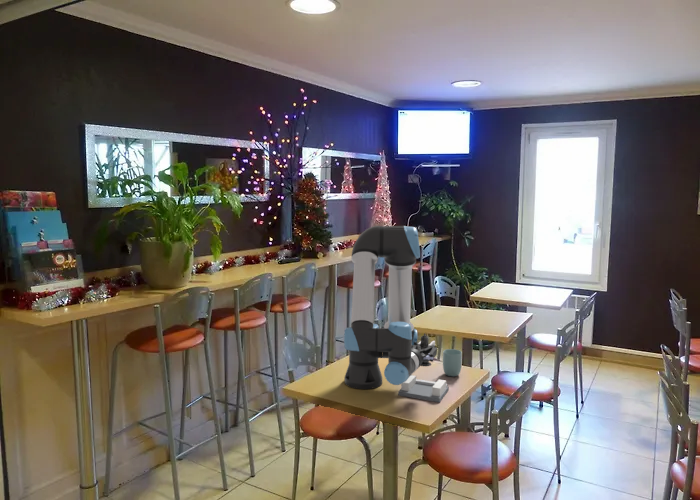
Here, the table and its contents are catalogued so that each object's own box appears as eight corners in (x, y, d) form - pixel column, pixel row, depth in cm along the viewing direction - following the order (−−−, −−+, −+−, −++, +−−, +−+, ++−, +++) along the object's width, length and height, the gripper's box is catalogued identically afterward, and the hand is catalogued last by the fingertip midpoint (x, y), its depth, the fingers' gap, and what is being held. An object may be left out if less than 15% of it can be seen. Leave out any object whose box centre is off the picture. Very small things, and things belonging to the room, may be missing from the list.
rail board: (398, 395, 198) (398, 383, 198) (409, 383, 210) (409, 372, 209) (439, 402, 192) (440, 390, 191) (448, 390, 203) (448, 379, 203)
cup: (461, 378, 216) (462, 355, 215) (442, 377, 217) (442, 354, 216) (461, 372, 223) (461, 349, 222) (442, 371, 225) (443, 348, 224)
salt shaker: (434, 364, 199) (435, 333, 198) (426, 367, 195) (426, 336, 194) (422, 360, 203) (422, 330, 202) (413, 364, 199) (413, 333, 198)
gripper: (386, 368, 186) (408, 350, 207) (432, 375, 179) (449, 355, 200) (386, 347, 185) (408, 331, 206) (432, 353, 178) (450, 336, 199)
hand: (428, 343), depth 203 cm, fingers closed on salt shaker, 3 cm apart
